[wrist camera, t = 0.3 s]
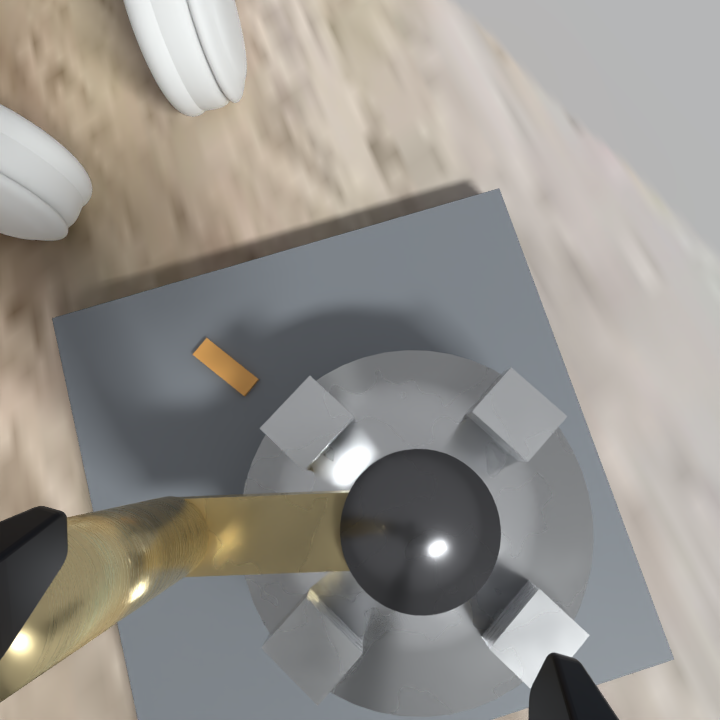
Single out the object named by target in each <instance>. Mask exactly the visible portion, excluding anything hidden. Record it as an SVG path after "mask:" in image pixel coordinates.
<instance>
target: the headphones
mask: <svg viewBox="0 0 720 720" xmlns="http://www.w3.org/2000/svg"><path fill="white" fill-rule="evenodd" d="M123 1H124V4H125V8H126V11H127V14H128V17H129V20H130V23H131V26H132V29H133V32H134V34H135V37H136V39H137V42H138V44H139V47H140V49H141V52H142V54H143V56H144V59H145V61H146V63H147V65H148V67H149V69H150V71H151V73H152V75H153V77H154V79H155V81H156V83H157V84H158V86H159V88H160V89H161V91H162V92H163V94H164V95H165V97H166V98H167V100H168V101H169V102H170V103H171V104H172V106H173V107H174V108H176V109H177V110H178V111H179V112H181V113H182V114H184V115H187V116H192V117H194V116H199V115H201V114H203V113H204V112H205V111H206V110H214V109H219V108H221V107H224V106H225V105H226V104H228V103H229V101H231V102H234V103H237V102H239V101H240V99H241V98H242V95H243V91H244V84H245V78H246V72H247V62H246V51H245V45H244V39H243V34H242V29H241V24H240V20H239V16H238V11H237V8H236V4H235V0H123ZM91 195H92V183H91V180H90V178H89V176H88V174H87V172H86V170H85V169H84V168H83V166H82V165H81V164H80V162H79V161H78V160H77V159H76V158H75V157H74V156H73V155H72V154H71V153H70V152H69V151H68V150H67V149H66V148H65V147H64V146H62V145H61V144H60V143H59V142H58V141H57V140H55V139H54V138H53V137H51V136H50V135H49V134H47V133H46V132H45V131H43V130H42V129H41V128H39V127H38V126H36V125H35V124H33V123H32V122H30V121H29V120H27V119H25V118H24V117H22V116H21V115H19V114H17V113H16V112H14V111H12V110H10V109H9V108H7V107H5V106H3V105H1V104H0V233H2V234H5V235H8V236H12V237H16V238H21V239H28V240H43V241H55V240H60V239H63V238H65V237H66V236H67V234H68V228H69V227H70V226H71V225H72V224H74V223H75V221H76V220H77V218H78V216H79V214H80V211H81V209H82V207H83V206H84V205H86V204H87V203H88V201H89V200H90V198H91Z"/></svg>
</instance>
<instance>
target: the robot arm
mask: <svg viewBox="0 0 720 720" xmlns="http://www.w3.org/2000/svg"><path fill="white" fill-rule="evenodd" d="M67 553H68V533H67V517H66V515H65V513H64V512H62V511H59V510H56V509H52V508H49V507H45V506H38V507H34V508H32V509H29V510H27V511H25V512H22V513H20V514H17V515H15V516H13V517H10V518H8V519H5V520H3V521H1V522H0V660H1V659H2V657H3V656H4V655H5V653H6V652H7V650H8V649H9V647H10V646H11V644H12V643H13V641H14V640H15V638H16V637H17V635H18V634H19V632H20V631H21V629H22V627H23V626H24V624H25V623H26V621H27V620H28V618H29V617H30V615H31V614H32V612H33V611H34V609H35V607H36V606H37V604H38V603H39V601H40V600H41V598H42V597H43V595H44V594H45V592H46V590H47V589H48V587H49V586H50V584H51V583H52V581H53V580H54V578H55V577H56V575H57V573H58V572H59V570H60V569H61V567H62V566H63V564H64V562H65V560H66V557H67ZM529 720H619V719H618V717H617V716H616V714H615V713H614V711H613V710H612V708H611V707H610V705H609V704H608V702H607V701H606V699H605V698H604V696H603V695H602V693H601V692H600V690H599V689H598V687H597V686H596V684H595V683H594V681H593V680H592V678H591V677H590V675H589V674H588V672H587V671H586V669H585V668H584V666H583V665H582V664H581V663H580V662H579V661H578V660H577V659H575V658H573V657H569V656H566V655H562V654H559V653H555V652H552V653H550V654H549V655H548V656H547V657H546V659H545V661H544V663H543V665H542V667H541V669H540V671H539V673H538V674H537V676H536V678H535V680H534V682H533V684H532V687H531V690H530V695H529Z"/></svg>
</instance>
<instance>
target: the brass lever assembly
mask: <svg viewBox="0 0 720 720" xmlns="http://www.w3.org/2000/svg"><path fill="white" fill-rule="evenodd" d="M566 417H567V416H566V415H565V414H564V413H563V412H562V411H561V410H560V409H558V408H557V407H556V406H555V405H554V404H553V403H552V402H550V401H549V400H548V399H547V398H546V397H545V396H544V395H542V394H541V393H540V392H539V391H538V390H537V389H536V388H534V387H533V386H532V385H531V384H530V383H529V382H527V381H526V380H525V379H524V378H523V377H522V376H521V375H519V374H518V373H517V372H516V371H515V370H514V369H513V368H509V369H508V370H506V371H504V372H503V373H502V374H500V373H498V372H496V371H494V370H493V369H491V368H488V367H486V366H484V365H481V364H479V363H477V362H474V361H472V360H469V359H466V358H462V357H459V356H455V355H452V354H446V353H440V352H433V351H419V350H403V351H394V352H384V353H380V354H376V355H372V356H368V357H363V358H361V359H358V360H355V361H353V362H350V363H348V364H345V365H342V366H341V367H339V368H337V369H335V370H333V371H331V372H329V373H327V374H326V375H324V376H322V377H321V378H319V379H318V380H317V381H315V380H314V379H313V378H312V377H311V376H309V377H308V378H307V379H306V380H305V381H304V382H303V383H302V384H301V385H300V386H299V387H298V388H297V389H296V391H295V392H294V393H293V394H292V395H291V396H290V397H289V398H288V399H287V400H286V401H285V402H284V403H283V404H282V405H281V406H280V407H279V408H278V410H277V411H276V412H275V413H274V414H273V415H272V416H271V417H270V418H269V419H268V420H267V421H266V422H265V423H264V424H263V425H262V426H261V427H260V429H261V430H262V431H263V432H264V433H265V434H266V435H265V437H264V438H263V440H262V442H261V444H260V446H259V448H258V450H257V452H256V455H255V457H254V459H253V461H252V464H251V467H250V470H249V473H248V476H247V479H246V482H245V487H244V492H243V494H236V495H211V496H185V497H174V496H167V497H161V498H156V499H151V500H147V501H142V502H137V503H133V504H128V505H123V506H119V507H114V508H109V509H105V510H100V511H95V512H91V513H86V514H81V515H77V516H72V517H67V533H68V553H67V557H66V560H65V562H64V564H63V566H62V567H61V569H60V570H59V572H58V573H57V575H56V577H55V578H54V580H53V581H52V583H51V584H50V586H49V587H48V589H47V590H46V592H45V594H44V595H43V597H42V598H41V600H40V601H39V603H38V604H37V606H36V607H35V609H34V611H33V612H32V614H31V615H30V617H29V618H28V620H27V621H26V623H25V624H24V626H23V627H22V629H21V631H20V632H19V634H18V635H17V637H16V638H15V640H14V641H13V643H12V644H11V646H10V647H9V649H8V650H7V652H6V653H5V655H4V656H3V657H2V659H1V660H0V702H2V701H3V700H5V699H6V698H7V697H9V696H10V695H12V694H13V693H15V692H16V691H18V690H19V689H21V688H22V687H24V686H25V685H27V684H28V683H30V682H31V681H32V680H34V679H35V678H37V677H38V676H40V675H41V674H43V673H44V672H46V671H47V670H49V669H50V668H52V667H53V666H54V665H56V664H57V663H59V662H60V661H62V660H63V659H65V658H66V657H68V656H69V655H71V654H72V653H74V652H75V651H76V650H78V649H79V648H81V647H82V646H84V645H85V644H87V643H88V642H90V641H91V640H93V639H94V638H96V637H97V636H99V635H100V634H101V633H103V632H104V631H106V630H107V629H109V628H110V627H112V626H113V625H115V624H116V623H118V622H119V621H121V620H122V619H123V618H125V617H126V616H128V615H129V614H131V613H132V612H134V611H135V610H137V609H138V608H140V607H141V606H143V605H144V604H145V603H147V602H148V601H150V600H151V599H153V598H154V597H156V596H157V595H159V594H160V593H162V592H163V591H165V590H166V589H167V588H169V587H170V586H172V585H173V584H175V583H176V582H178V581H179V580H181V579H182V578H184V577H203V576H229V575H245V579H246V582H247V585H248V588H249V591H250V594H251V597H252V600H253V603H254V605H255V607H256V609H257V611H258V613H259V615H260V617H261V619H262V621H263V623H264V625H265V627H266V628H267V630H268V631H269V633H270V634H269V635H268V636H267V638H266V640H265V642H264V644H263V646H262V647H261V648H262V649H263V650H264V651H265V652H266V653H267V654H268V655H269V656H270V657H271V658H272V659H273V660H274V662H275V663H276V664H277V665H278V666H279V667H280V668H281V669H282V670H283V671H284V672H285V673H286V674H287V675H288V676H289V677H290V678H291V679H292V680H293V681H294V682H295V683H296V684H297V685H298V686H299V687H300V688H301V689H302V690H303V691H304V692H305V693H306V694H307V695H308V696H309V697H310V698H311V700H312V701H313V702H314V703H315V704H316V705H317V706H318V705H319V704H320V703H321V701H322V700H323V699H324V698H325V697H326V696H327V695H328V693H329V692H331V693H332V694H334V695H336V696H338V697H340V698H342V699H344V700H346V701H348V702H350V703H352V704H355V705H358V706H361V707H364V708H367V709H370V710H373V711H376V712H380V713H386V714H391V715H397V716H407V717H432V716H441V715H450V714H454V713H458V712H462V711H466V710H470V709H473V708H476V707H478V706H481V705H483V704H486V703H488V702H490V701H493V700H495V699H497V698H499V697H501V696H502V695H504V694H506V693H507V692H509V691H511V690H512V689H514V688H516V687H517V686H519V685H520V684H521V683H522V682H524V683H525V684H526V685H527V686H528V687H529V688H530V689H531V687H532V684H533V682H534V680H535V678H536V676H537V674H538V673H539V671H540V669H541V667H542V665H543V663H544V661H545V659H546V657H547V656H548V655H549V654H550V653H552V652H555V653H559V654H562V655H566V656H569V657H573V655H574V654H575V653H576V652H577V650H578V649H579V648H580V647H581V646H582V644H583V643H584V642H585V641H586V639H587V638H588V637H589V636H590V635H589V634H588V633H587V632H586V631H584V630H583V629H582V628H581V627H580V626H579V625H578V624H577V623H576V622H575V621H574V619H575V617H576V615H577V613H578V611H579V608H580V605H581V602H582V600H583V597H584V594H585V591H586V588H587V584H588V579H589V575H590V570H591V565H592V554H593V542H594V539H593V517H592V511H591V505H590V499H589V493H588V490H587V486H586V483H585V480H584V477H583V473H582V470H581V468H580V466H579V463H578V461H577V459H576V457H575V454H574V452H573V450H572V448H571V446H570V445H569V443H568V441H567V440H566V438H565V436H564V435H563V433H562V431H561V430H560V428H559V426H560V424H561V423H562V422H563V421H564V420H565V419H566Z"/></svg>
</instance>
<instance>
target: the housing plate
mask: <svg viewBox="0 0 720 720" xmlns="http://www.w3.org/2000/svg"><path fill="white" fill-rule="evenodd" d="M52 320H53V325H54V329H55V334H56V339H57V343H58V348H59V353H60V357H61V362H62V367H63V372H64V376H65V381H66V386H67V390H68V395H69V400H70V404H71V409H72V414H73V418H74V423H75V428H76V432H77V437H78V442H79V446H80V451H81V456H82V460H83V465H84V470H85V474H86V479H87V484H88V488H89V493H90V498H91V502H92V507H93V512H95V511H100V510H105V509H109V508H114V507H119V506H123V505H128V504H133V503H137V502H142V501H147V500H151V499H156V498H161V497H167V496H174V497H185V496H211V495H236V494H243V492H244V487H245V482H246V479H247V476H248V473H249V470H250V467H251V464H252V461H253V459H254V457H255V455H256V452H257V450H258V448H259V446H260V444H261V442H262V440H263V438H264V437H265V435H266V434H265V433H264V432H263V431H262V430H261V429H260V427H261V426H262V425H263V424H264V423H265V422H266V421H267V420H268V419H269V418H270V417H271V416H272V415H273V414H274V413H275V412H276V411H277V410H278V408H279V407H280V406H281V405H282V404H283V403H284V402H285V401H286V400H287V399H288V398H289V397H290V396H291V395H292V394H293V393H294V392H295V391H296V389H297V388H298V387H299V386H300V385H301V384H302V383H303V382H304V381H305V380H306V379H307V378H308V377H309V376H311V377H312V378H313V379H314V380H315V381H317V380H318V379H319V378H321V377H322V376H324V375H326V374H327V373H329V372H331V371H333V370H335V369H337V368H339V367H341V366H342V365H345V364H348V363H350V362H353V361H355V360H358V359H361V358H363V357H368V356H372V355H376V354H380V353H384V352H394V351H403V350H419V351H433V352H440V353H446V354H452V355H455V356H459V357H462V358H466V359H469V360H472V361H474V362H477V363H479V364H481V365H484V366H486V367H488V368H491V369H493V370H494V371H496V372H498V373H500V374H502V373H503V372H504V371H506V370H508V369H509V368H513V369H514V370H515V371H516V372H517V373H518V374H519V375H521V376H522V377H523V378H524V379H525V380H526V381H527V382H529V383H530V384H531V385H532V386H533V387H534V388H536V389H537V390H538V391H539V392H540V393H541V394H542V395H544V396H545V397H546V398H547V399H548V400H549V401H550V402H552V403H553V404H554V405H555V406H556V407H557V408H558V409H560V410H561V411H562V412H563V413H564V414H565V415H566V416H567V417H566V419H565V420H564V421H563V422H562V423H561V424H560V426H559V428H560V430H561V431H562V433H563V435H564V436H565V438H566V440H567V441H568V443H569V445H570V446H571V448H572V450H573V452H574V454H575V457H576V459H577V461H578V463H579V466H580V468H581V470H582V473H583V477H584V480H585V483H586V486H587V490H588V493H589V499H590V505H591V511H592V517H593V539H594V542H593V554H592V565H591V570H590V575H589V579H588V584H587V588H586V591H585V594H584V597H583V600H582V602H581V605H580V608H579V611H578V613H577V615H576V617H575V619H574V621H575V622H576V623H577V624H578V625H579V626H580V627H581V628H582V629H583V630H584V631H586V632H587V633H588V634H589V635H590V636H589V637H588V638H587V639H586V641H585V642H584V643H583V644H582V646H581V647H580V648H579V649H578V650H577V652H576V653H575V654H574V655H573V658H575V659H577V660H578V661H579V662H580V663H581V664H582V665H583V666H584V668H585V669H586V671H587V672H588V674H589V675H590V677H591V678H592V680H593V681H594V683H595V684H596V685H598V684H601V683H604V682H607V681H610V680H613V679H616V678H619V677H622V676H625V675H628V674H631V673H634V672H637V671H640V670H643V669H646V668H649V667H653V666H656V665H659V664H662V663H665V662H668V661H671V660H674V658H673V655H672V652H671V649H670V647H669V644H668V641H667V639H666V636H665V633H664V631H663V628H662V625H661V623H660V620H659V617H658V615H657V612H656V609H655V606H654V604H653V601H652V598H651V596H650V593H649V590H648V588H647V585H646V582H645V580H644V577H643V574H642V571H641V569H640V566H639V563H638V561H637V558H636V555H635V553H634V550H633V547H632V545H631V542H630V539H629V536H628V534H627V531H626V528H625V526H624V523H623V520H622V518H621V515H620V512H619V510H618V507H617V504H616V501H615V499H614V496H613V493H612V491H611V488H610V485H609V483H608V480H607V477H606V475H605V472H604V469H603V466H602V464H601V461H600V458H599V456H598V453H597V450H596V448H595V445H594V442H593V440H592V437H591V434H590V432H589V429H588V426H587V423H586V421H585V418H584V415H583V413H582V410H581V407H580V405H579V402H578V399H577V397H576V394H575V391H574V388H573V386H572V383H571V380H570V378H569V375H568V372H567V370H566V367H565V364H564V362H563V359H562V356H561V353H560V351H559V348H558V345H557V343H556V340H555V337H554V335H553V332H552V329H551V327H550V324H549V321H548V318H547V316H546V313H545V310H544V308H543V305H542V302H541V300H540V297H539V294H538V292H537V289H536V286H535V284H534V281H533V278H532V275H531V273H530V270H529V267H528V265H527V262H526V259H525V257H524V254H523V251H522V249H521V246H520V243H519V240H518V238H517V235H516V232H515V230H514V227H513V224H512V222H511V219H510V216H509V214H508V211H507V208H506V205H505V203H504V200H503V197H502V195H501V192H500V189H495V190H492V191H488V192H485V193H481V194H478V195H474V196H471V197H468V198H464V199H461V200H457V201H454V202H450V203H447V204H444V205H440V206H437V207H433V208H430V209H426V210H423V211H419V212H416V213H413V214H409V215H406V216H402V217H399V218H395V219H392V220H388V221H385V222H382V223H378V224H375V225H371V226H368V227H364V228H361V229H358V230H354V231H351V232H347V233H344V234H340V235H337V236H333V237H330V238H327V239H323V240H320V241H316V242H313V243H309V244H306V245H302V246H299V247H296V248H292V249H289V250H285V251H282V252H278V253H275V254H272V255H268V256H265V257H261V258H258V259H254V260H251V261H247V262H244V263H241V264H237V265H234V266H230V267H227V268H223V269H220V270H217V271H213V272H210V273H206V274H203V275H199V276H196V277H192V278H189V279H186V280H182V281H179V282H175V283H172V284H168V285H165V286H161V287H158V288H155V289H151V290H148V291H144V292H141V293H137V294H134V295H131V296H127V297H124V298H120V299H117V300H113V301H110V302H106V303H103V304H100V305H96V306H93V307H89V308H86V309H82V310H79V311H75V312H72V313H69V314H65V315H62V316H58V317H55V318H52ZM117 624H118V629H119V633H120V638H121V643H122V647H123V652H124V657H125V661H126V666H127V671H128V676H129V680H130V685H131V690H132V694H133V699H134V704H135V708H136V713H137V718H138V720H492V719H495V718H498V717H501V716H504V715H508V714H511V713H514V712H517V711H520V710H523V709H526V708H529V695H530V690H531V689H530V688H529V687H528V686H527V685H526V684H525V683H524V682H522V683H521V684H520V685H519V686H517V687H516V688H514V689H512V690H511V691H509V692H507V693H506V694H504V695H502V696H501V697H499V698H497V699H495V700H493V701H490V702H488V703H486V704H483V705H481V706H478V707H476V708H473V709H470V710H466V711H462V712H458V713H454V714H450V715H441V716H432V717H407V716H397V715H391V714H386V713H380V712H376V711H373V710H370V709H367V708H364V707H361V706H358V705H355V704H352V703H350V702H348V701H346V700H344V699H342V698H340V697H338V696H336V695H334V694H332V693H331V692H329V693H328V695H327V696H326V697H325V698H324V699H323V700H322V701H321V703H320V704H319V705H318V706H317V705H316V704H315V703H314V702H313V701H312V700H311V698H310V697H309V696H308V695H307V694H306V693H305V692H304V691H303V690H302V689H301V688H300V687H299V686H298V685H297V684H296V683H295V682H294V681H293V680H292V679H291V678H290V677H289V676H288V675H287V674H286V673H285V672H284V671H283V670H282V669H281V668H280V667H279V666H278V665H277V664H276V663H275V662H274V660H273V659H272V658H271V657H270V656H269V655H268V654H267V653H266V652H265V651H264V650H263V649H262V648H261V647H262V646H263V644H264V642H265V640H266V638H267V636H268V635H269V634H270V633H269V631H268V630H267V628H266V627H265V625H264V623H263V621H262V619H261V617H260V615H259V613H258V611H257V609H256V607H255V605H254V603H253V600H252V597H251V594H250V591H249V588H248V585H247V582H246V579H245V575H229V576H203V577H184V578H182V579H181V580H179V581H178V582H176V583H175V584H173V585H172V586H170V587H169V588H167V589H166V590H165V591H163V592H162V593H160V594H159V595H157V596H156V597H154V598H153V599H151V600H150V601H148V602H147V603H145V604H144V605H143V606H141V607H140V608H138V609H137V610H135V611H134V612H132V613H131V614H129V615H128V616H126V617H125V618H123V619H122V620H121V621H119V622H118V623H117Z"/></svg>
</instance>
